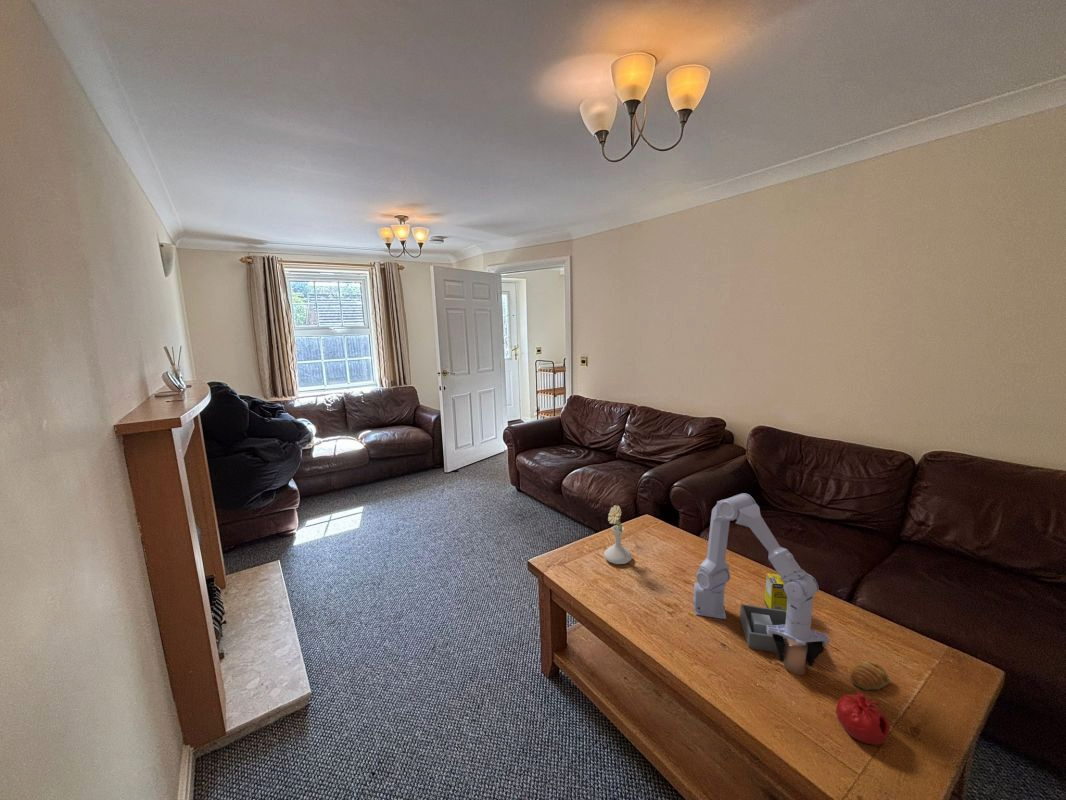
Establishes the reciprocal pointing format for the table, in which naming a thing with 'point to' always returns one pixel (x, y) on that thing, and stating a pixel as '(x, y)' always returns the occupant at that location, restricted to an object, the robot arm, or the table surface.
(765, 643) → the charcoal tote
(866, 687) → the pastry
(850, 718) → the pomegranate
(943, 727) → the table surface
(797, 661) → the tan rounded cylinder
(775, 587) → the supplement box
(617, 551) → the flower in vase
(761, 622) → the slate-blue block
